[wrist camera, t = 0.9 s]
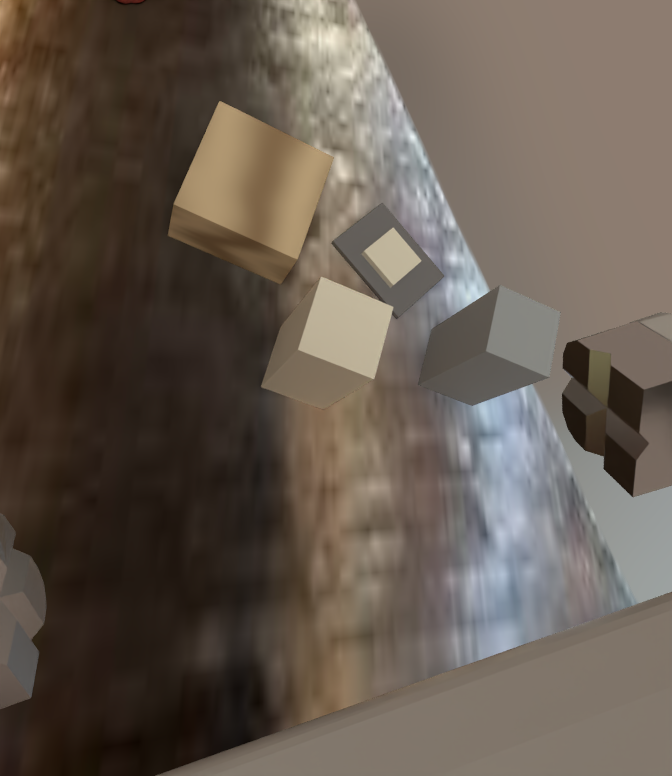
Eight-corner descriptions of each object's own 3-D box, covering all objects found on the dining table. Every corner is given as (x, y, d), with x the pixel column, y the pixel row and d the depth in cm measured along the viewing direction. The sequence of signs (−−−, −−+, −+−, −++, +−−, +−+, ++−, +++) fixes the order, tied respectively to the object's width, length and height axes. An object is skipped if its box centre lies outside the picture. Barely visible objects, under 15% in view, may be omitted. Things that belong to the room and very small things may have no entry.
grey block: (418, 384, 51) (485, 351, 42) (431, 329, 52) (500, 284, 43) (471, 405, 52) (549, 377, 43) (483, 351, 53) (560, 312, 44)
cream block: (260, 386, 46) (297, 349, 37) (280, 326, 48) (321, 276, 39) (323, 409, 48) (374, 379, 38) (340, 350, 49) (393, 306, 40)
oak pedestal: (167, 236, 47) (173, 204, 42) (209, 141, 50) (219, 100, 45) (279, 285, 49) (297, 259, 44) (314, 191, 52) (334, 157, 47)
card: (331, 243, 51) (335, 237, 50) (380, 205, 53) (385, 199, 52) (396, 318, 51) (401, 314, 50) (442, 277, 54) (447, 273, 53)
